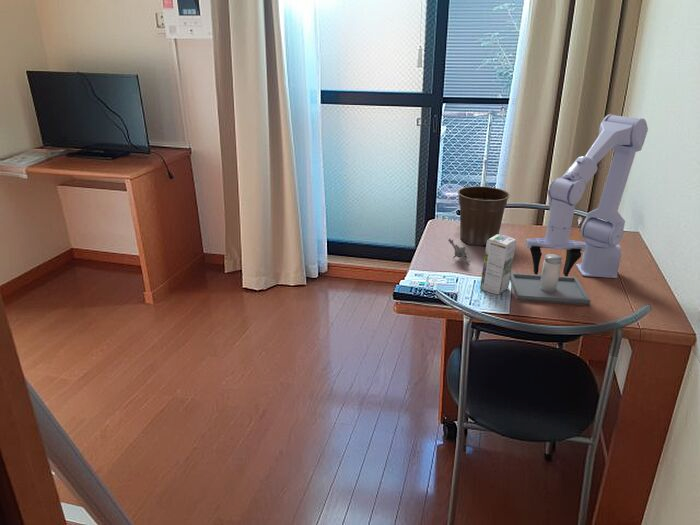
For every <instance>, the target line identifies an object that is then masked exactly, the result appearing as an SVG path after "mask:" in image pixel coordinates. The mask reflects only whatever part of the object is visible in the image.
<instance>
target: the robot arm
mask: <svg viewBox="0 0 700 525" xmlns="http://www.w3.org/2000/svg"><path fill="white" fill-rule="evenodd" d="M648 130H649V127H648V124H647V120H646V119H645V118H639V117H638V118H637V117H630V116H622V115H615V114H613V113H609V114H607V115H605V117H604V118H603V119H602V121H601V123H600V125H599V130H598V136H597V138H596V139H595V140H594V141H593V144H592V145H591V146H590V148H589V149H588V151H587V152H586V153H585V155H583V156H578V157H577V158H576V159H575V160H574V162H572V164H571V165H570V167H569V168H568V169H567V170H566V171H565V172H564V174H563V175H562V176H561V177H557V178H555V179H553V180H552V181H551V183H550V186H549V187H548V190H547V197H548V206H549V212H548V213H549V214H548V220H547V223H546V224H547V225H546V231H545V236H544V237H539V238H536V237H535V238H526V242H525V246H526V249H529V251H530V254H531V258H532V264H533V266H532V267H533V274H537V275H539V270H540V269H539V268H540V261H541V258H542V256H543V254H542V249H551V250H561V251H563V250H566V254H565V262H564V266H563V271H562V273H563V274H562V275H563V276H568V277H569V274H570V271H571V270H572V268H573V267H574V265H575V266H576V268H577V269H578V271H579V272H580V274H581V276H583V277H594V278H595V277H596V278H609V279H617V278H618V272H619V267H620V262H621V258H622V248H621V245H620V243H621V242H622V240H623V237H624V233H625V232H624V229H625V224H626V221H625V219H624V218H623V217H622V215H621V214H620V213H619V208H620V204H621V201H622V197H623V194H624V191H625V189H626V185H627V182H628V180H629V179H628V178H629V175H630V172H631V169H632V166H633V163H634V159H635V156H636V153H637V152H640V151H642V149H643V146H644V144H645V140H646V137H647V135H648ZM612 150H613V152H614V154H613V156H612V159H611V160H612V161H611V163H610V167H609V170H608V173H607V177H606V179H605V180H606V181H605V183H604V187H603V190H602V193H601V196H600V200H599V203H598V206H597V208H595V209H594V210H591V211H589V212H588V213H587V214H586V217H585V219H584V221H583V222H582V224H581V227H580V233H581V234H580V235H581V237H582V238H583V241H579V240H578V241H577V240H572V239H570V234H571V229H572V224H573V218H574V215H575V214H574V213H575V209H576V204H578V203H579V202H580V200H581V199H582V197H583V195H584V192H585V190H586V188H587V187H586V185H587V184H588V182H589V181H590V180H591V179H592V178H593V176H594V175H595V174H596V173H597V171H598V163H599V162H601V160H602V159H603V158H604V157H605V156H606V155H607V154H608V153H610V151H612ZM582 252H583V253H582ZM580 258H581V262H580V263H576V262H577V261H579V259H580Z"/></svg>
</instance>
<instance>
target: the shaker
mask: <svg viewBox="0 0 700 525" xmlns="http://www.w3.org/2000/svg"><path fill="white" fill-rule="evenodd" d="M562 259H563V258H562V256H560V255H558V254H555V253H554V254H552V253H548V254H546V255H545V256H544V259H543V263H542V267H541V273H540V275H541V279H540V284H539V289H541V290H542V291H545V292H555V291H556V288H557V283H558V278H559V276H560V273H561V267H562Z"/></svg>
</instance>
